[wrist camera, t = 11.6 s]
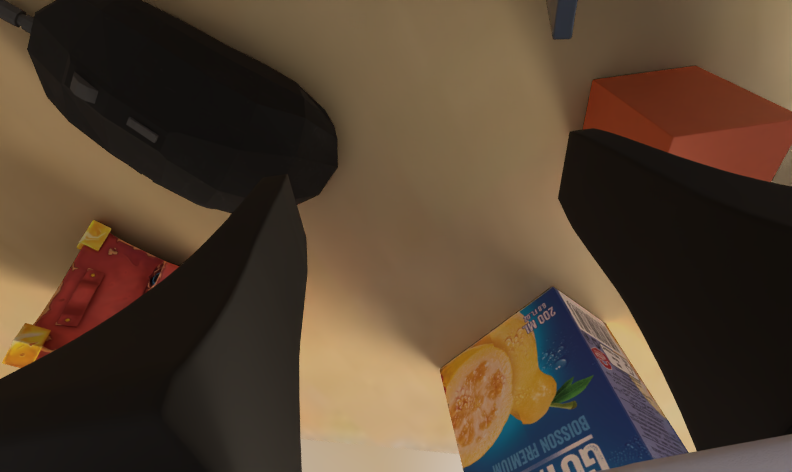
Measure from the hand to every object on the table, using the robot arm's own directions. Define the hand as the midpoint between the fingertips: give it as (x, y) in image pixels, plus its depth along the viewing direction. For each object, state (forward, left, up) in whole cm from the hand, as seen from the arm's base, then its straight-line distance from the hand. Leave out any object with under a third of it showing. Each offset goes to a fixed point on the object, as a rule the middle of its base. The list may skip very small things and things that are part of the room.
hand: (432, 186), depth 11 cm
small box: (-12, +4, -9) cm, 16 cm away
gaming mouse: (+9, 0, -10) cm, 13 cm away
